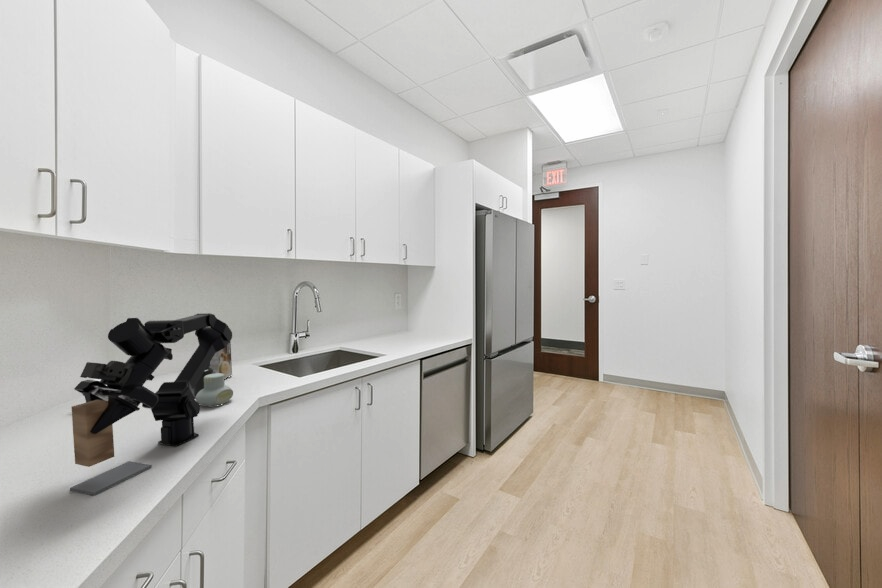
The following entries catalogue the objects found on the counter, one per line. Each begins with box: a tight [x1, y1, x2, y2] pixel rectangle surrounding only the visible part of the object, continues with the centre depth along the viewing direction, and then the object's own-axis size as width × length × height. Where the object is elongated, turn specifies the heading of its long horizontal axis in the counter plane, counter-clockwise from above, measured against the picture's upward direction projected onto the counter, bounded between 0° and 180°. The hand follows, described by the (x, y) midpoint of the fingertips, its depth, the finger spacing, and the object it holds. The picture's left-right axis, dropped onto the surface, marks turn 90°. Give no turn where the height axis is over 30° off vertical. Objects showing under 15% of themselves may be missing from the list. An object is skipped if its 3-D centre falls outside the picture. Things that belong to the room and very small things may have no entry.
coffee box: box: [210, 341, 233, 380], centre depth 155 cm, size 9×6×16 cm
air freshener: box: [195, 373, 234, 407], centre depth 124 cm, size 11×8×10 cm
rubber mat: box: [69, 460, 152, 496], centre depth 78 cm, size 11×7×1 cm, turn 165°
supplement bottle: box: [193, 363, 214, 397], centre depth 136 cm, size 7×7×12 cm
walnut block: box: [71, 400, 115, 468], centre depth 76 cm, size 4×4×12 cm
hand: (85, 431), depth 75 cm, fingers closed on walnut block, 4 cm apart
